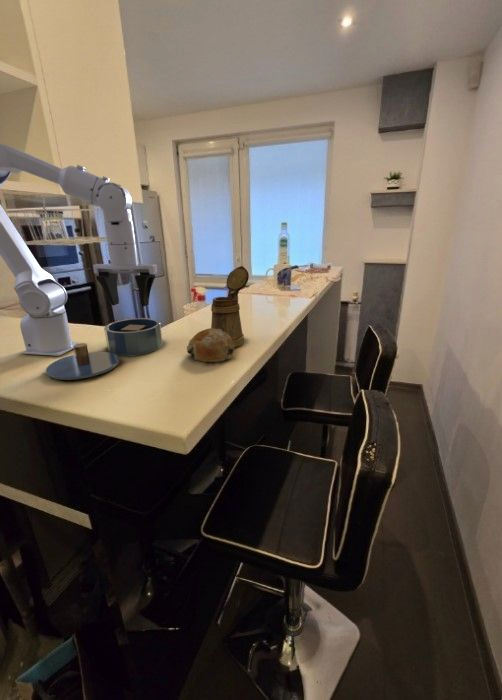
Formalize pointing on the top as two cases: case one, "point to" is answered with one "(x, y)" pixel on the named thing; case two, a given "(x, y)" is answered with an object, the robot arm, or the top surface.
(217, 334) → the bread roll
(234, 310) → the wooden mug
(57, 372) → the bowl lid
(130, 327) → the block
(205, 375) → the top surface
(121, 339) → the bowl
